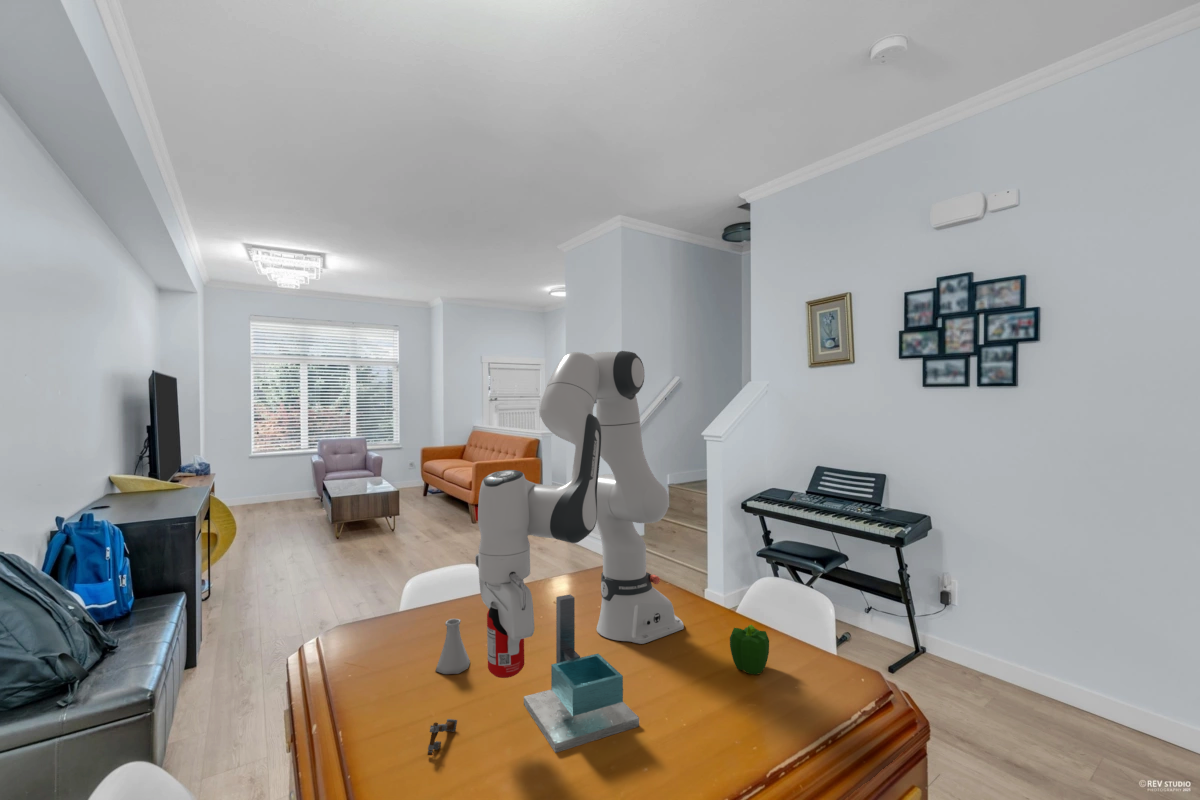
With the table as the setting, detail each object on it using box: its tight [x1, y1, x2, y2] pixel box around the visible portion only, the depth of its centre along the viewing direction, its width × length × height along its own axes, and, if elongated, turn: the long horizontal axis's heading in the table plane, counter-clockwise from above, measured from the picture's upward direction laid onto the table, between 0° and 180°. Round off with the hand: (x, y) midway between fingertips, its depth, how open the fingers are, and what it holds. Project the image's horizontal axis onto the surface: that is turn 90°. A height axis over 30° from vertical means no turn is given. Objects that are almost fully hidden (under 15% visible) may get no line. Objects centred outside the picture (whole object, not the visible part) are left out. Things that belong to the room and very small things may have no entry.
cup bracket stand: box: [523, 593, 640, 754], centre depth 98 cm, size 16×16×20 cm
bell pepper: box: [729, 624, 770, 675], centre depth 115 cm, size 8×8×10 cm
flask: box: [435, 618, 471, 675], centre depth 116 cm, size 7×7×10 cm
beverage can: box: [486, 601, 525, 679], centre depth 93 cm, size 6×6×12 cm
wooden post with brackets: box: [426, 718, 458, 756], centre depth 89 cm, size 2×8×4 cm, turn 169°
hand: (506, 644), depth 93 cm, fingers closed on beverage can, 6 cm apart
